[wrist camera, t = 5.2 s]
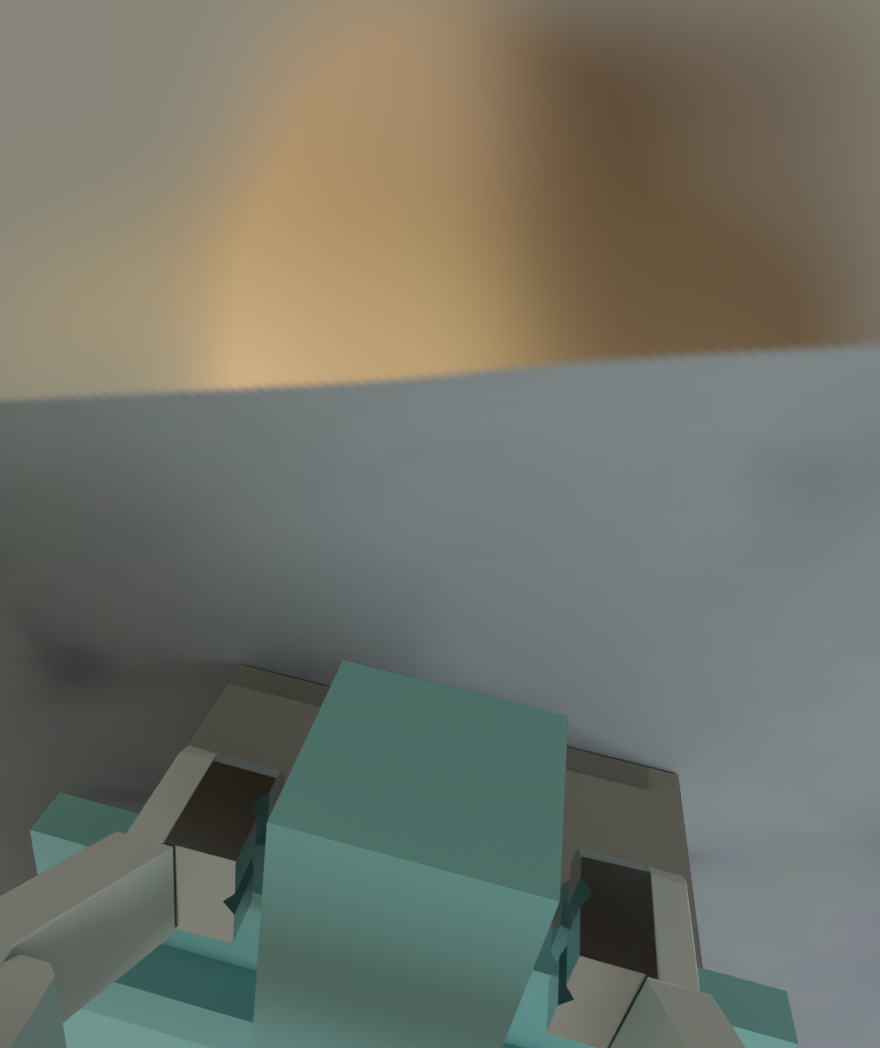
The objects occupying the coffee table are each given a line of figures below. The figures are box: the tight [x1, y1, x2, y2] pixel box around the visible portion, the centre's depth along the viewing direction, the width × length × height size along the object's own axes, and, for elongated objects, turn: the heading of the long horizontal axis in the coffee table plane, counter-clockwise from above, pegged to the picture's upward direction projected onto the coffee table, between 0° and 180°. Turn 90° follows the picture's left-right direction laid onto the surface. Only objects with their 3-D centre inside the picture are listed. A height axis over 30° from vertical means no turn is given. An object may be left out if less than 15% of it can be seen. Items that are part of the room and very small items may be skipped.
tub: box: [188, 664, 703, 968], centre depth 21 cm, size 18×12×7 cm, turn 171°
